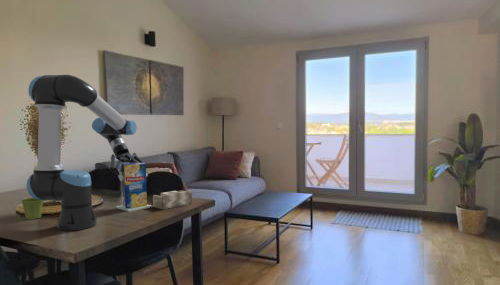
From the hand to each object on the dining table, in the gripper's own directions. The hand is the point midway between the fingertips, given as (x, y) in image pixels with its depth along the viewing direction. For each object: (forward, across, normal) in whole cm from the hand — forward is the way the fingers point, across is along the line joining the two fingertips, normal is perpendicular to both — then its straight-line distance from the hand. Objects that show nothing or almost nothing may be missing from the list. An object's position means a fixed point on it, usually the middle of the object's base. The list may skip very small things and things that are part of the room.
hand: (134, 178), depth 187 cm
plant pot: (0, +43, -22) cm, 48 cm away
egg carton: (+19, -15, -3) cm, 24 cm away
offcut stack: (+17, -15, -3) cm, 23 cm away
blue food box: (+11, +1, -10) cm, 14 cm away
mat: (+11, +1, -10) cm, 15 cm away
